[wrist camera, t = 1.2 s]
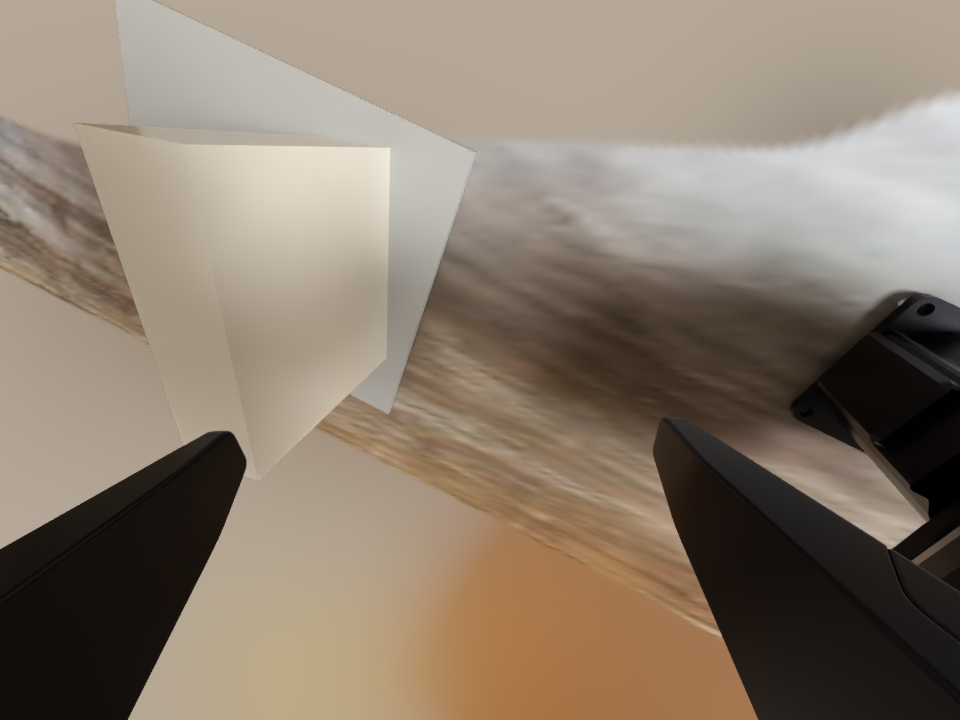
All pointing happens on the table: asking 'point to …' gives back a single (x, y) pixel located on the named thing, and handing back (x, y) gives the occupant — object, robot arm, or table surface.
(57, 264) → the table surface
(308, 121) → the mat
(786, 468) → the table surface
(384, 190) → the cream block
